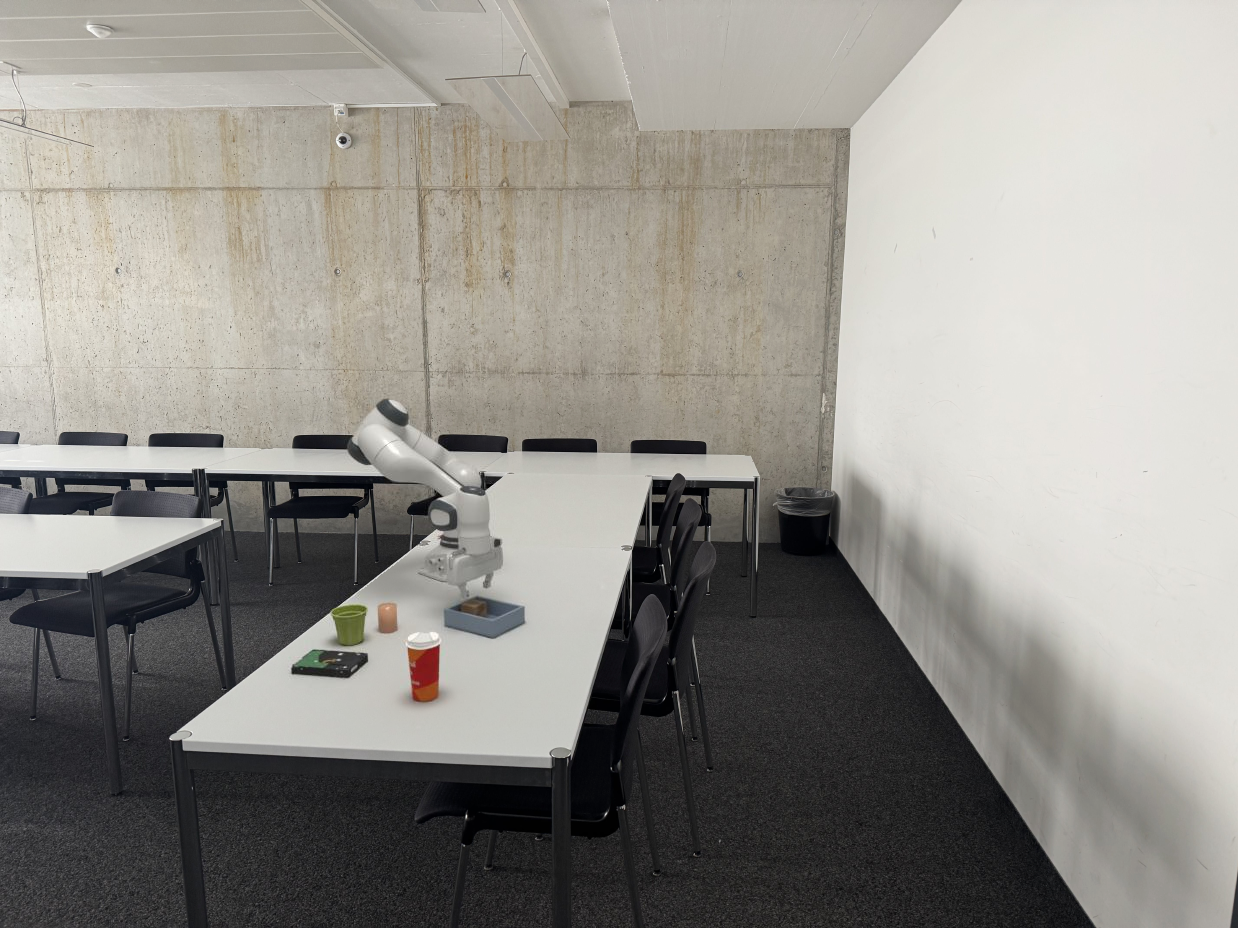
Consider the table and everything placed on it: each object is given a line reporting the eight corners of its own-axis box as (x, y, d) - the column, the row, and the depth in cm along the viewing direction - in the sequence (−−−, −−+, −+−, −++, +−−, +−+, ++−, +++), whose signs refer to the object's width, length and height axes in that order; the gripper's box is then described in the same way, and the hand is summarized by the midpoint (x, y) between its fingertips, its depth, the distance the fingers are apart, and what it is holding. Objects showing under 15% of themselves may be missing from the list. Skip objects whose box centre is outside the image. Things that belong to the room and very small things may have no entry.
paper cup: (411, 689, 178) (408, 630, 176) (445, 688, 179) (443, 629, 177) (404, 704, 171) (402, 644, 168) (440, 703, 171) (438, 643, 169)
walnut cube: (474, 624, 217) (474, 607, 216) (461, 621, 220) (460, 604, 219) (486, 619, 221) (486, 602, 221) (473, 615, 224) (472, 599, 223)
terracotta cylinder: (374, 631, 214) (373, 606, 213) (388, 625, 218) (387, 601, 217) (387, 634, 211) (386, 610, 210) (401, 628, 215) (400, 604, 214)
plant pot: (334, 650, 200) (333, 618, 199) (329, 638, 208) (328, 607, 207) (372, 644, 204) (370, 612, 203) (366, 632, 212) (364, 602, 211)
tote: (444, 626, 217) (443, 609, 217) (477, 611, 229) (476, 595, 228) (493, 638, 208) (492, 620, 208) (524, 623, 220) (524, 606, 219)
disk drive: (368, 663, 194) (313, 658, 196) (368, 652, 194) (312, 648, 196) (349, 680, 184) (290, 675, 186) (348, 669, 184) (289, 664, 186)
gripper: (457, 555, 207) (459, 605, 209) (506, 537, 224) (507, 584, 227) (439, 551, 210) (442, 601, 212) (489, 535, 228) (490, 580, 230)
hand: (476, 592), depth 220 cm, fingers open, 8 cm apart
